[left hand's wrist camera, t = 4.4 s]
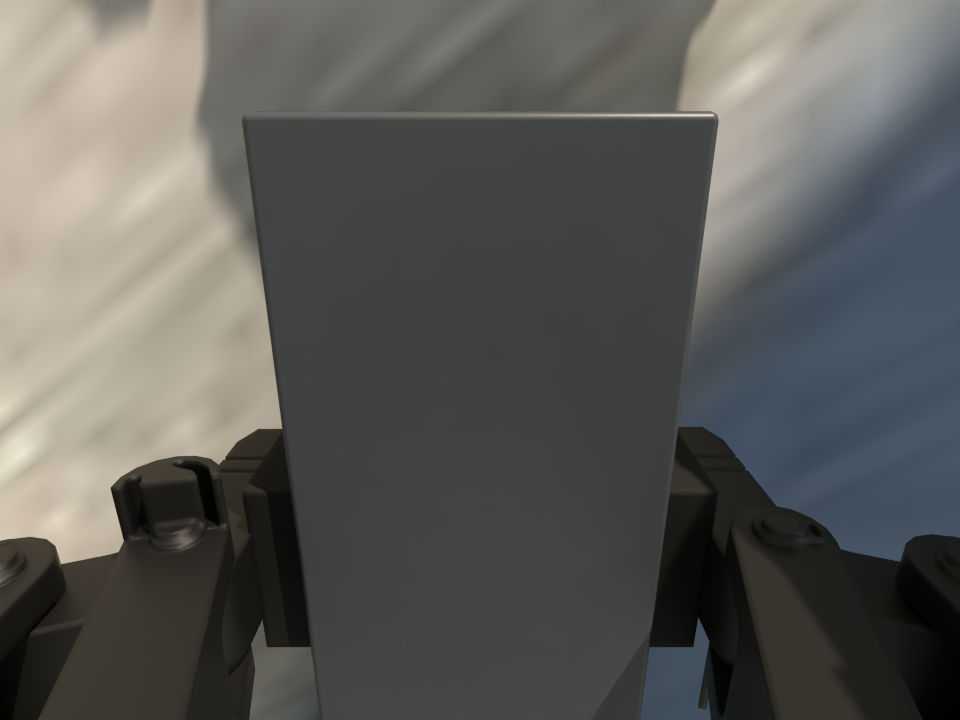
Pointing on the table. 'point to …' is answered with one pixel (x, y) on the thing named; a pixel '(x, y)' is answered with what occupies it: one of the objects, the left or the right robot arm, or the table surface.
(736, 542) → the left robot arm
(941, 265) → the table surface
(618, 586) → the beam
